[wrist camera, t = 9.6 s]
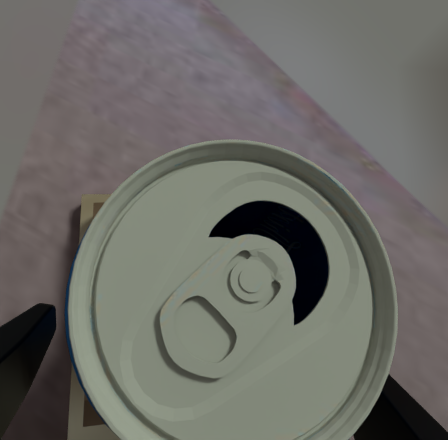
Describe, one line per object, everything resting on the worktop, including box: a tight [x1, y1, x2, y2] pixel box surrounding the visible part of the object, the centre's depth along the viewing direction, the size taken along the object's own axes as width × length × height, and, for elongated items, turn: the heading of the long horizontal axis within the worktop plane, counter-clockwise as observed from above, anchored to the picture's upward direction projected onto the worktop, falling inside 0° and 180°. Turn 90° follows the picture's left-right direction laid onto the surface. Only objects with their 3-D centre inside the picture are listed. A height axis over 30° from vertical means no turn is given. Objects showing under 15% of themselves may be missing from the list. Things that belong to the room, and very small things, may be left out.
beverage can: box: [65, 140, 398, 440], centre depth 11 cm, size 6×6×12 cm
